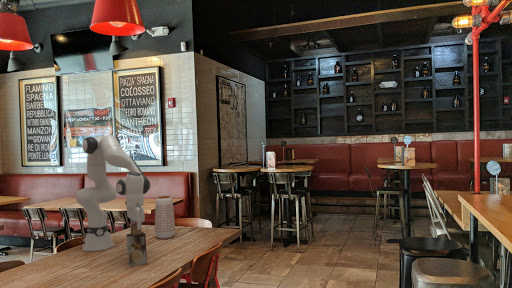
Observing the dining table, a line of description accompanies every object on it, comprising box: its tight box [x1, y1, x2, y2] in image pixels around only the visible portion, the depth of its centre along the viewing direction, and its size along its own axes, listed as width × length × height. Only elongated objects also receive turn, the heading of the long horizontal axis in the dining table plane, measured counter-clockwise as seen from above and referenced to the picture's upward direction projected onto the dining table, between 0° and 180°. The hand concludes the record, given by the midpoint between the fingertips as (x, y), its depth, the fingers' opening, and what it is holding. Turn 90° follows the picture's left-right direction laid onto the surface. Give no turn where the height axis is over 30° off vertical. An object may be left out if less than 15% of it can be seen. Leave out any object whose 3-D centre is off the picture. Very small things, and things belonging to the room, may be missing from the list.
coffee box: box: [126, 231, 148, 267], centre depth 199 cm, size 9×6×16 cm
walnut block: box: [130, 223, 143, 235], centre depth 199 cm, size 4×4×5 cm
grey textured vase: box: [154, 195, 176, 240], centre depth 255 cm, size 13×13×28 cm
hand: (136, 228), depth 199 cm, fingers open, 8 cm apart
